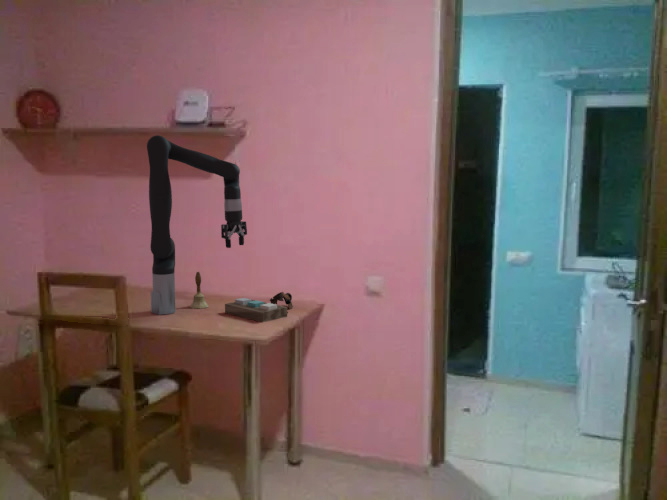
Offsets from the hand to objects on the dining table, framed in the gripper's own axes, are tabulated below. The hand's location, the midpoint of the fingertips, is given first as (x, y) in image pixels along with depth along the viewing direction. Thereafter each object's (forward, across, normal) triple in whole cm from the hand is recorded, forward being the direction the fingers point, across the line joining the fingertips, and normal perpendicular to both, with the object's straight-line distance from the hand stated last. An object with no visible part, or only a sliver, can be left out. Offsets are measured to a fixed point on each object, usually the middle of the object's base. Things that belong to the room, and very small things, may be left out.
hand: (235, 246), depth 269 cm
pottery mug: (+30, -15, +14) cm, 36 cm away
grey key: (+25, +2, +5) cm, 26 cm away
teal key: (+25, +3, +13) cm, 28 cm away
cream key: (+25, +4, +21) cm, 33 cm away
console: (+28, +3, +13) cm, 31 cm away
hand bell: (+28, +6, -18) cm, 34 cm away
